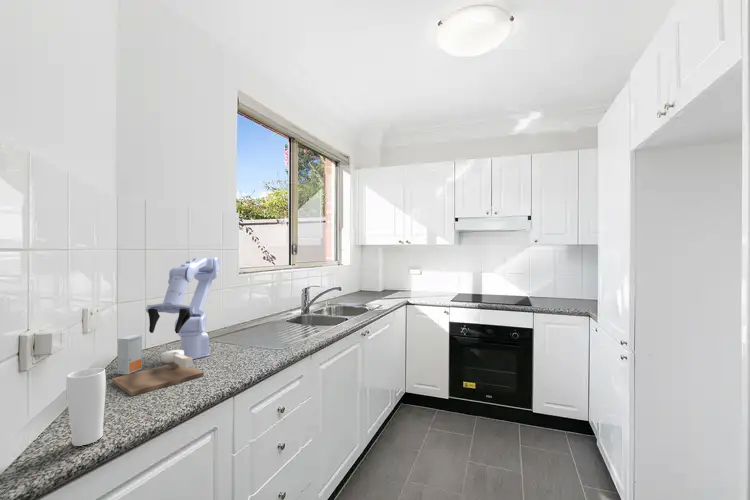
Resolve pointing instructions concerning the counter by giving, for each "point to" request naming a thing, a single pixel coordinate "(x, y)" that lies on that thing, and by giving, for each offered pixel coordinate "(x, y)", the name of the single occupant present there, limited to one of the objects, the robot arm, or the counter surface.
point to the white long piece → (176, 358)
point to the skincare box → (129, 354)
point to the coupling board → (156, 378)
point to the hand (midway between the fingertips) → (163, 331)
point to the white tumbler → (86, 404)
